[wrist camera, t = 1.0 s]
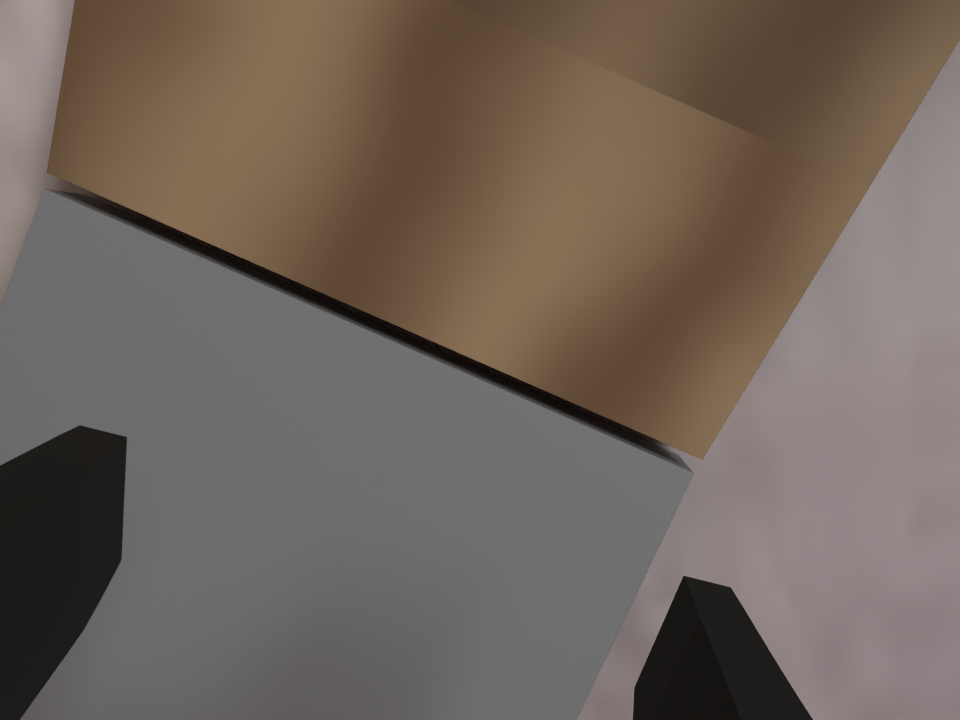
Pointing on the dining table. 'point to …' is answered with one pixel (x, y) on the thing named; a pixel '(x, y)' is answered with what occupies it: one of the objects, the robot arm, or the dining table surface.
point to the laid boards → (516, 166)
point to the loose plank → (315, 496)
